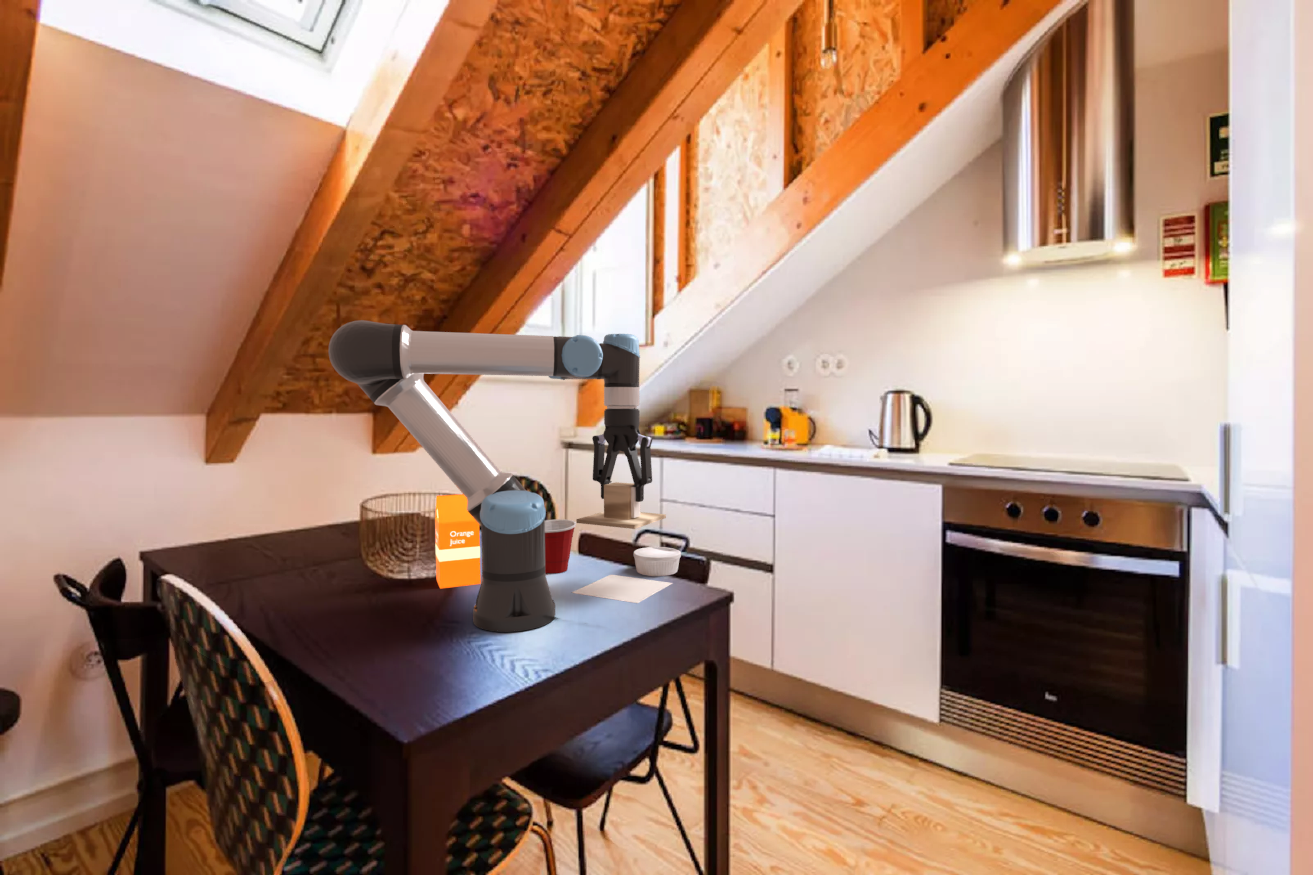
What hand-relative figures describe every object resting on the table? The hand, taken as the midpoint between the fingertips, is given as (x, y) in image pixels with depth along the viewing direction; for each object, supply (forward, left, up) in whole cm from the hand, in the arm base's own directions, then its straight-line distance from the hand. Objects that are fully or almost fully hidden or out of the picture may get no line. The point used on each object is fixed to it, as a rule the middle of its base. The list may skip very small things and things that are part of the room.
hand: (622, 515), depth 140 cm
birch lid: (0, 0, -1) cm, 1 cm away
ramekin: (+16, 0, -17) cm, 23 cm away
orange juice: (-11, +37, -17) cm, 42 cm away
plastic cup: (+5, +22, -17) cm, 28 cm away
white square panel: (0, 0, -16) cm, 16 cm away
